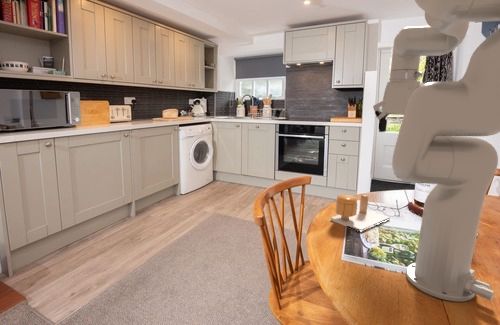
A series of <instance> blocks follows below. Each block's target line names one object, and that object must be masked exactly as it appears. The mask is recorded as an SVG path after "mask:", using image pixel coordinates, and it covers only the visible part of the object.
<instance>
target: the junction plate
mask: <svg viewBox="0 0 500 325" xmlns="http://www.w3.org/2000/svg"><path fill="white" fill-rule="evenodd" d="M359 199H360V201H359V207H357V212H356V215H355V216H351V217H348V216H342V215H339V214H336V215H334V216H331V217H330V221H332V222H334V223H335V224H338V225H341V226H344V227H346V226H350V227H353V228H356V229H359V230H363V229H365V228H367V227H369V226H371V225H375V224H377V223H380V222H382V221H385V220H387V219H389V220H390V216H386V215H383V214H381V213H378V212H375V211H371V210H369V209H368V204H369V195H368V194H361V195H360V198H359Z"/></svg>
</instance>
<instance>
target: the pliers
mask: <svg viewBox="0 0 500 325" xmlns="http://www.w3.org/2000/svg"><path fill="white" fill-rule="evenodd" d="M407 207H408V209H409V211H411V212H412V211H413V213H414V212H415V213H414V214H416V213H417V215H418V214H419V216H421V215H422V216H423V209H424V208H421V207H419V206H417V205H415V204H414V203H413V201H408V203H407ZM422 216H421V217H422Z"/></svg>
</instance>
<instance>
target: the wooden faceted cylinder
mask: <svg viewBox="0 0 500 325" xmlns="http://www.w3.org/2000/svg"><path fill="white" fill-rule="evenodd" d="M335 201H336V203H335V213H336V215H342V216H348V217H351V216H355V215H356V212H357V208H358V198H357V197H356V196H354V195H352V194H351V195H350V194H339V195H337V197H336V200H335Z"/></svg>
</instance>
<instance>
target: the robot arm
mask: <svg viewBox="0 0 500 325" xmlns="http://www.w3.org/2000/svg"><path fill="white" fill-rule="evenodd" d="M414 2H415V3H416V5H417V6H418V8H420V9H421V10H423V11H424V18H425V21H426V24H427V25H422V26H421V25H420V26H415V25H414V26H406V27H403V28H402V29H401V30H400V31H399V32H398V33H397V34H396V36H395V37H394V39H393V45H392V46H393V47H392V55H391V56H392V58H391V63H390V64H391V65H390V73H389V81H387V84H386V86H385V89H384V92H383V98H382V101H379V102H378V103H376V104H373V106H372V108H373V110H374V114H375V116H377V119H378V121H379V122H378V132H379V133H384V132H386V131H387V125H388V119H387V118H388V116H389V115H397V116H399V115H400V116H402V115H403V117H402V121H401V123H400V124H401V125H400V127H399V132H398V135H397V137H396V138H397V139H396V143H395V145H394V146H395V147H394V149H393V155H392V162H391V165H392V166H391V167H392V171H393V174H394V175H395V177H396V178H397V179H399V180H400V181H402V182H406V183H411V184H431V185H435V186H434V187H433V188H432V189H431V191H429V193H428V195H426V198H425V200H424V204H423V208H422V209H423V216H421V224H420V231H419V236H418V237H419V238H418V243H417V244H418V245H417V249H416V250H417V251H416V257H415V262H413V263H410V264H409V265H408V266H407V267H406V269H405V276H406V279H407V280H408V282H410V283H411V284H412V285H413V287H415V288H417V289H418V290H420V291H422V292H424V293H425V294H427V295H429V296H431V297H434V298H438V299H441V300H445V301H449V302H467V301H470V300H472V299H473V298H475V297H476V295H478V296H479V297H481V298H482V299H486V300H487V301H490V302H491V301H493V298H494V296H495V291H494V290H493V289H491V284H489V283H487V282H484V281H482V280H479V279H477V277H475V276H474V274H475V272H476V271H475V269H472V268H471V265H472V261H473V256H474V251H475V244H476V240H477V235H478V229H479V225H480V219H481V215H482V210H483V205H484V201H485V197H486V194H487V192H488V190H489V187H490V185H491V183H492V181H493V178H494V176H495V175H496V174H495V173H496V170H497V168H498V164H499V155H498V152H497V150H496V148H495V147H494V146H493V145H492V144H491V143H490V142H488V141H487V140H484V139H481V138H478V137H490V136H494V135H497V134H498V133H499V134H500V27H498V28H497V29H496V30H495V31H494V32H492V33H491V34H489V35H488V37H486V39H484V40H483V41H482V42H481V43H480V44H479V45H478V46H477V48H476V49H475V50H474V51H473V53H472V54H471V57H470V59H469V62H468V65H467V68H466V70H465V72H464V75H462V78H461V79H459V80H457V81H451V80H449V81H445V80H444V81H439V80H438V81H430V82H429V81H428V82H426V83H423V84H421V81H418V80H419V78H420V77H421V78H422V77H423V75H424V74H423V72H422V71H420V70H419V68H420V62H421V57H424V56H425V57H426V56H427V57H441V56H445V55H447V54H449V53H450V52H452V51H453V50H455V49H456V48H457V47H458V46H460V44H462V42H463V41H464V39H465V37H466V36H467V32H468V30H469V27H470V23H473V22H474V23H478V22H480V23H481V22H482V23H483V22H484V23H485V22H500V0H414ZM380 108H381V110H380Z"/></svg>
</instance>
